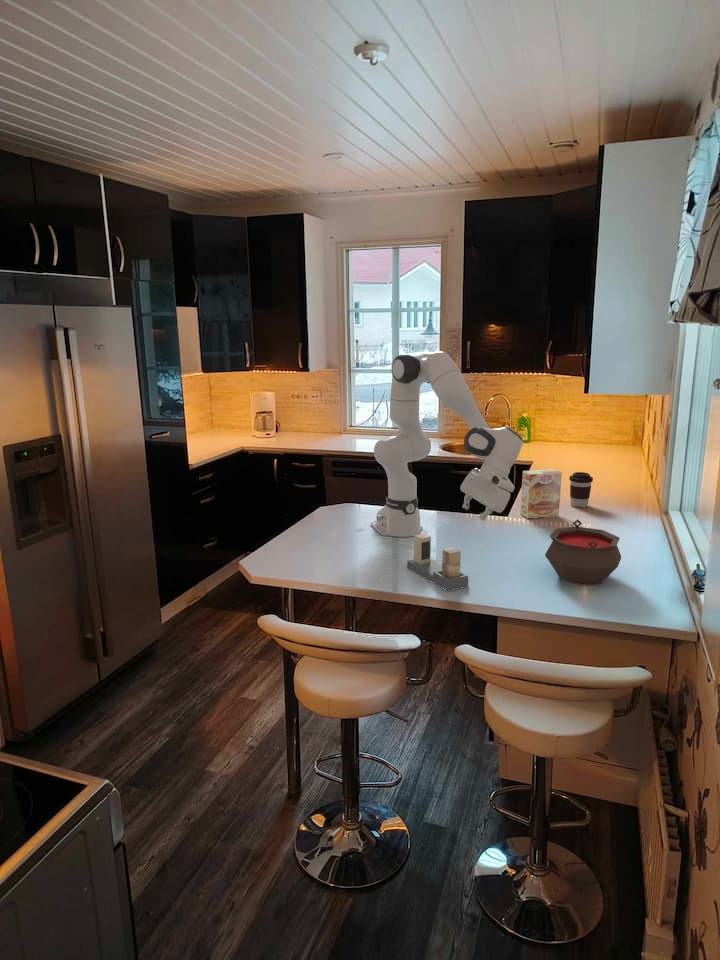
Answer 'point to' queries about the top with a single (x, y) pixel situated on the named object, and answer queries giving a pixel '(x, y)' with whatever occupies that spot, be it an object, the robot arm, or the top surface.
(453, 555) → the block
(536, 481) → the coffeecake box
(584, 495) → the coffee cup
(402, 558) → the top surface
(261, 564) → the top surface
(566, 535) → the brown cauldron
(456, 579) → the grey block holder
